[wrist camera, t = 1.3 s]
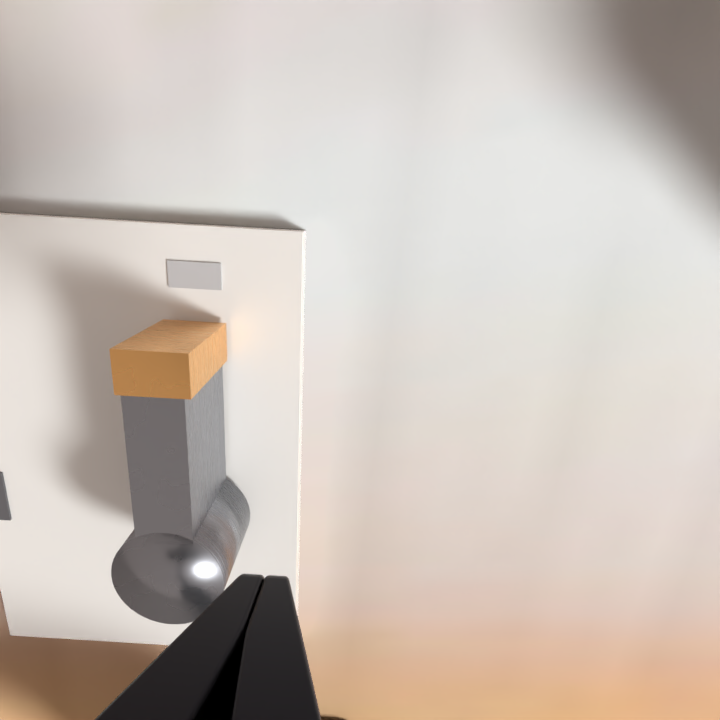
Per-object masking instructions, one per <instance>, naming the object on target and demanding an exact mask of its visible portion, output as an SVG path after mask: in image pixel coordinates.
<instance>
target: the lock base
mask: <svg viewBox="0 0 720 720" xmlns="http://www.w3.org/2000/svg"><path fill="white" fill-rule="evenodd" d="M305 258H306V231H305V230H288V229H271V228H254V227H236V226H219V225H202V224H185V223H168V222H151V221H134V220H117V219H100V218H83V217H65V216H48V215H31V214H14V213H0V590H1V594H2V599H3V604H4V609H5V613H6V618H7V623H8V627H9V632H10V635H11V636H27V637H43V638H60V639H76V640H92V641H108V642H125V643H141V644H157V645H170V644H171V643H172V642H173V641H174V640H175V639H176V638H177V637H178V636H179V635H180V634H181V633H182V632H183V631H184V630H185V629H186V628H187V627H188V626H189V625H190V624H191V623H192V622H191V623H186V624H164V623H159V622H155V621H152V620H149V619H147V618H145V617H143V616H141V615H139V614H137V613H136V612H134V611H133V610H132V609H130V608H129V607H128V606H127V605H126V604H125V603H124V602H123V601H122V600H121V598H120V597H119V595H118V594H117V592H116V590H115V588H114V585H113V582H112V578H111V567H112V562H113V559H114V557H115V555H116V553H117V552H118V550H119V549H120V548H121V546H122V545H123V544H124V542H125V541H126V539H127V538H128V537H129V535H130V534H131V533H132V531H133V530H134V521H133V512H132V502H131V492H130V482H129V473H128V463H127V453H126V443H125V434H124V424H123V414H122V405H121V395H114V389H113V380H112V370H111V361H110V352H109V349H110V348H112V347H114V346H115V345H117V344H119V343H121V342H123V341H125V340H126V339H128V338H130V337H132V336H134V335H136V334H137V333H139V332H141V331H143V330H145V329H146V328H148V327H150V326H152V325H154V324H156V323H157V322H159V321H161V320H163V319H168V320H185V321H201V322H218V323H226V331H227V361H226V362H225V364H224V365H223V366H222V367H223V398H224V428H225V458H226V479H228V480H229V481H231V482H232V483H233V484H235V485H236V486H237V487H238V488H239V489H240V490H241V492H242V493H243V494H244V496H245V498H246V499H247V502H248V504H249V508H250V522H249V526H248V529H247V531H246V534H245V537H244V539H243V542H242V544H241V547H240V550H239V552H238V555H237V557H236V560H235V563H234V565H233V568H232V571H231V573H230V576H229V578H228V581H227V584H226V586H225V589H226V588H227V587H228V586H229V585H230V584H231V583H232V582H233V581H234V580H235V579H236V578H237V577H238V576H239V575H241V574H261V575H263V576H264V578H265V577H266V576H268V575H277V576H287V577H288V578H289V581H290V585H291V590H292V594H293V598H294V603H295V607H296V612H297V616H298V595H299V547H300V499H301V451H302V403H303V354H304V306H305ZM225 589H224V590H225Z"/></svg>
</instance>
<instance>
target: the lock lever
mask: <svg viewBox="0 0 720 720" xmlns="http://www.w3.org/2000/svg"><path fill="white" fill-rule="evenodd" d="M109 352H110V361H111V370H112V380H113V389H114V395H121V405H122V414H123V424H124V434H125V443H126V453H127V463H128V473H129V482H130V492H131V502H132V512H133V521H134V530H133V531H132V533H131V534H130V535H129V537H128V538H127V539H126V541H125V542H124V544H123V545H122V546H121V548H120V549H119V550H118V552H117V553H116V555H115V557H114V559H113V562H112V567H111V578H112V582H113V585H114V588H115V590H116V592H117V594H118V595H119V597H120V598H121V600H122V601H123V602H124V603H125V604H126V605H127V606H128V607H129V608H130V609H132V610H133V611H134V612H136V613H137V614H139V615H141V616H143V617H145V618H147V619H149V620H152V621H155V622H159V623H164V624H186V623H191V622H193V621H194V620H195V619H196V618H197V617H198V616H199V615H200V614H201V613H202V612H203V611H204V610H205V609H206V608H207V607H208V606H209V605H210V604H211V603H212V602H213V601H214V600H215V599H216V598H217V597H218V596H219V595H220V594H221V593H222V592H223V591H224V589H225V586H226V584H227V581H228V578H229V576H230V573H231V571H232V568H233V565H234V563H235V560H236V557H237V555H238V552H239V550H240V547H241V544H242V542H243V539H244V537H245V534H246V531H247V529H248V526H249V522H250V508H249V504H248V502H247V499H246V498H245V496H244V494H243V493H242V492H241V490H240V489H239V488H238V487H237V486H236V485H235V484H233V483H232V482H231V481H229V480H228V479H226V458H225V428H224V398H223V367H222V366H223V365H224V364H225V362H226V361H227V331H226V323H218V322H201V321H185V320H168V319H163V320H161V321H159V322H157V323H156V324H154V325H152V326H150V327H148V328H146V329H145V330H143V331H141V332H139V333H137V334H136V335H134V336H132V337H130V338H128V339H126V340H125V341H123V342H121V343H119V344H117V345H115V346H114V347H112V348H110V349H109Z"/></svg>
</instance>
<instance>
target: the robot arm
mask: <svg viewBox="0 0 720 720" xmlns="http://www.w3.org/2000/svg"><path fill="white" fill-rule="evenodd" d="M95 720H321V717H320V712H319V708H318V704H317V699H316V695H315V690H314V686H313V682H312V677H311V673H310V669H309V664H308V660H307V655H306V651H305V647H304V642H303V638H302V633H301V629H300V625H299V620H298V616H297V612H296V607H295V603H294V598H293V594H292V590H291V585H290V581H289V578H288V577H287V576H277V575H268V576H266V577H265V578H264V576H263V575H261V574H241V575H239V576H238V577H237V578H236V579H235V580H234V581H233V582H232V583H231V584H230V585H229V586H228V587H227V588H226V589H225V590H224V591H223V592H222V593H221V594H220V595H219V596H218V597H217V598H216V599H215V600H214V601H213V602H212V603H211V604H210V605H209V606H208V607H207V608H206V609H205V610H204V611H203V612H202V613H201V614H200V615H199V616H198V617H197V618H196V619H195V620H194V621H193V622H192V623H191V624H190V625H189V626H188V627H187V628H186V629H185V630H184V631H183V632H182V633H181V634H180V635H179V636H178V637H177V638H176V639H175V640H174V641H173V642H172V643H171V644H170V645H169V646H168V647H167V648H166V649H165V650H164V651H163V652H162V653H161V654H160V655H159V656H158V657H157V658H156V659H155V660H154V661H153V662H152V663H151V664H150V665H149V666H148V667H147V668H146V669H145V670H144V671H143V672H142V673H141V674H140V675H139V676H138V677H137V678H136V679H135V680H134V681H133V682H132V683H131V684H130V685H129V686H128V687H127V688H126V689H125V690H124V691H123V692H122V693H121V694H120V695H119V696H118V697H117V698H116V699H115V700H114V701H113V702H112V703H111V704H110V705H109V706H108V707H107V708H106V709H105V710H104V711H103V712H102V713H101V714H100V715H99V716H98V717H97V718H96V719H95Z"/></svg>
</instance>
